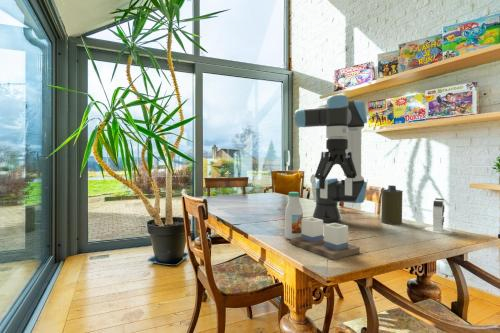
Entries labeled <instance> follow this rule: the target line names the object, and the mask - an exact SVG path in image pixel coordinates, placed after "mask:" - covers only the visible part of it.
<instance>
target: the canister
mask: <svg viewBox="0 0 500 333" xmlns="http://www.w3.org/2000/svg"><path fill="white" fill-rule="evenodd" d="M387 186H388V187H387V189H381V191H380V192H381V207H380V208H381V210H380V211H381V212H380V213H381V214H380V215H381V219H380V223H382V224H386V225H392V226H398V225H403V192H404V191H403V190H400V189H397V187H396V185H387Z"/></svg>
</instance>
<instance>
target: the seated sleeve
mask: <svg viewBox="0 0 500 333" xmlns="http://www.w3.org/2000/svg"><path fill="white" fill-rule="evenodd" d="M323 236H324V222H323V220H321V219H317V218H313V217H307V218H303V219H302V239H304V240H307V241H310V242H316V241H320V240H323Z"/></svg>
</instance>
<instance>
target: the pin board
mask: <svg viewBox="0 0 500 333" xmlns="http://www.w3.org/2000/svg"><path fill="white" fill-rule="evenodd" d="M290 244H291V245H293V246H295V247H298V248H301V249H304V250H307V251H309V252H311V253H314V254H316V255H320V256H322V257H325V258H326V259H330V260H331V261H337V260H339V259H342V258H346V257H349V256H353V255H357V254H359V253H361V252H360V251H361V250H360V248H361V247H360V246H356V245H353V244H350V243H348V248H344V249H341V250H334V249H331V248H328V247H325V246H324V235H323V240H320V241H316V242H310V241H307V240H304V239H302V237H298V238H293V239H290Z"/></svg>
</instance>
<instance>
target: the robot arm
mask: <svg viewBox="0 0 500 333" xmlns="http://www.w3.org/2000/svg"><path fill="white" fill-rule="evenodd" d="M367 113H368V112H367V107H366V103H365V101H363V100H349V98H348V96H347V95H346V94H345V95H344V94H343V95H342V94H336V95H335V94H334V95H330V96H329V97H327V99H326V104H322V105H319V106H318V107H313V108H300V109H296V110H295V112H294V124H295V126H296V127H297V128H311V127H313V128H314V127H326V128H325V130H326V134H325V135H326V136H325V138H327V139H326V141H325V144H326V145H325V146H326V150H328V151H321V153H320V154H321V155H320V160H319V163H318V165H317V167H316V168H317V169H316V172H315V174H314V178H315V179H317V181H316V185H315V209H314V211H313V214H312V218H317V219H321V220H323V223H338V222H340V221H341V219H342V218H341V215H340V211H339V207H338V203H347V204H348V203H350V204H351V203H352V204H363V203H364V202H365V199H366V192H367V188H368V187H367V186H368V182H367V181H365V178H364V176H362V130H363V129H364V128H365V124H367V123H368V116H367ZM335 165H339V166H340V168H341V169H342V171H343V176H341V178H340V180H338V178H337V177H333V178H332V177H331V178H328V175H329V173H330V172H331V171H332V169H333V167H334V166H335Z"/></svg>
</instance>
